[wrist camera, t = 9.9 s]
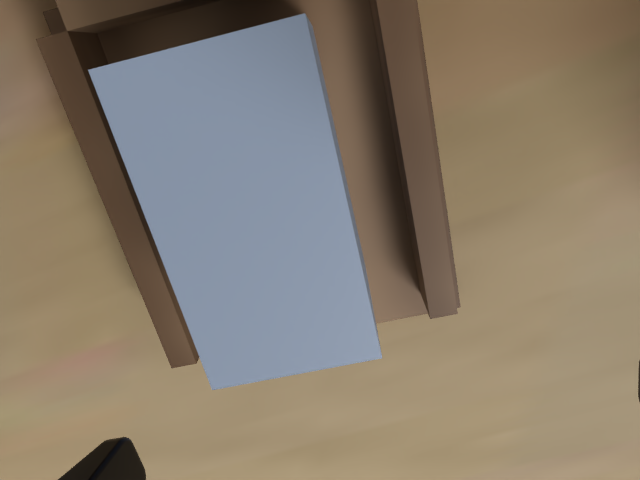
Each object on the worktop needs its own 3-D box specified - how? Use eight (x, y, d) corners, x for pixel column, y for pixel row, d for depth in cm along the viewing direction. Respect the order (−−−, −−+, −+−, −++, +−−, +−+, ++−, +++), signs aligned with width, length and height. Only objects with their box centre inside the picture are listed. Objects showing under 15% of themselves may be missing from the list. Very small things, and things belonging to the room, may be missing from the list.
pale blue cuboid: (312, 26, 16) (305, 13, 10) (365, 267, 19) (382, 358, 13) (169, 62, 16) (87, 70, 11) (244, 292, 20) (212, 390, 14)
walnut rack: (400, -79, 16) (416, -106, 13) (454, 295, 21) (474, 334, 18) (58, 14, 17) (5, 7, 14) (188, 347, 22) (168, 391, 19)
